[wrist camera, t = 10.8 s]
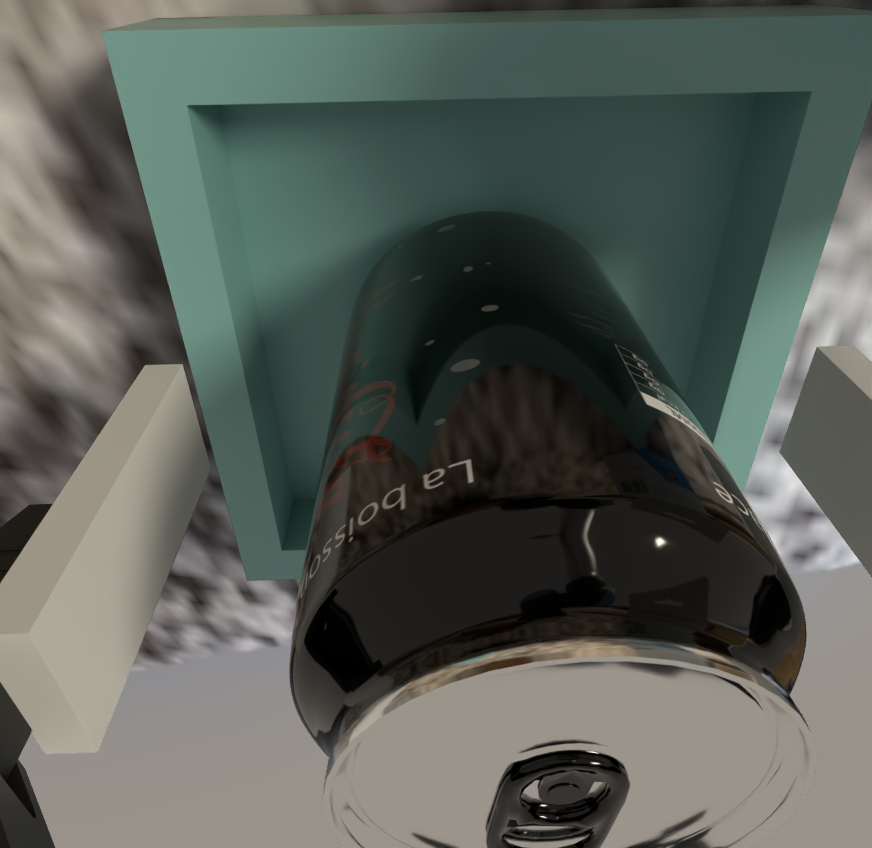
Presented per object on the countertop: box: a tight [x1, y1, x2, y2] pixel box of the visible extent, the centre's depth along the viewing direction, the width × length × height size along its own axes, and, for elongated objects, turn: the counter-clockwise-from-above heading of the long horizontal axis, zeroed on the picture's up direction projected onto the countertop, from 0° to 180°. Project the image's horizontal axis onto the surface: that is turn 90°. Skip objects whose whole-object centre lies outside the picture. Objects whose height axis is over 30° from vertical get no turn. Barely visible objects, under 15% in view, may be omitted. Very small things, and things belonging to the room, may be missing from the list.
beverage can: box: [289, 211, 817, 848], centre depth 13 cm, size 7×7×12 cm
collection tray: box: [101, 4, 872, 581], centre depth 17 cm, size 14×14×3 cm
